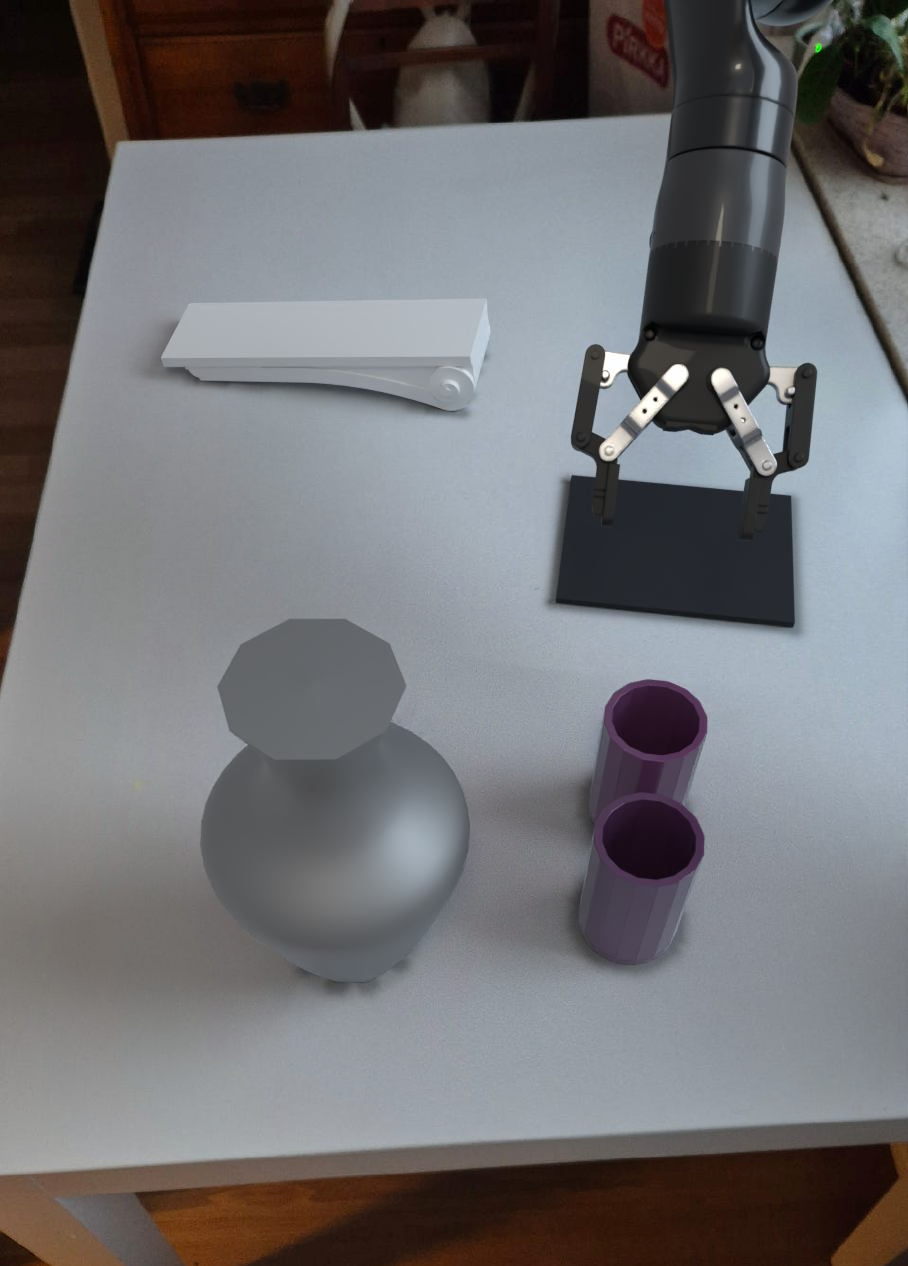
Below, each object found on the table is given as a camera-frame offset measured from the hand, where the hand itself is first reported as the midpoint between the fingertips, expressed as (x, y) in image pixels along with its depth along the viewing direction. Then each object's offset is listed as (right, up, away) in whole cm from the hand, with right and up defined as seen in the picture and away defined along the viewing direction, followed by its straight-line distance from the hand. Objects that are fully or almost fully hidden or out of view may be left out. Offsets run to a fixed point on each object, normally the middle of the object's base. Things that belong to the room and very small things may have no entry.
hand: (675, 533), depth 71 cm
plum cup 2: (-3, -24, +2) cm, 24 cm away
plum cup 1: (-2, -17, +6) cm, 18 cm away
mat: (+4, +3, +20) cm, 20 cm away
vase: (-20, -25, +1) cm, 32 cm away
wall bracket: (-25, +23, +33) cm, 47 cm away
